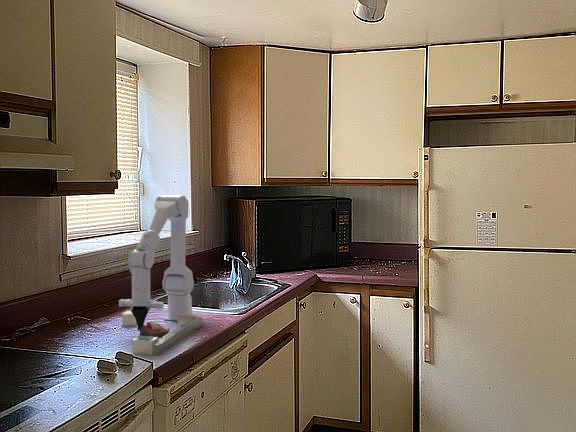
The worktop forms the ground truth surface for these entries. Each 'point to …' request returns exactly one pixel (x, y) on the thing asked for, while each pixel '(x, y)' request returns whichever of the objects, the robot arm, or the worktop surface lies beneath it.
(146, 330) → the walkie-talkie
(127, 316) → the module
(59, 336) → the worktop surface
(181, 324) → the off-white long bar
